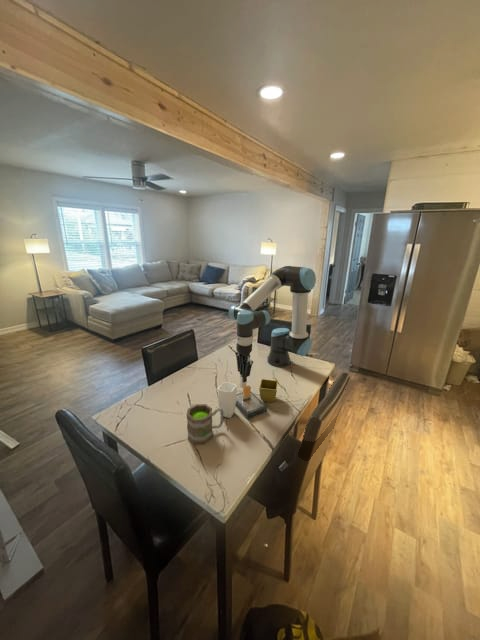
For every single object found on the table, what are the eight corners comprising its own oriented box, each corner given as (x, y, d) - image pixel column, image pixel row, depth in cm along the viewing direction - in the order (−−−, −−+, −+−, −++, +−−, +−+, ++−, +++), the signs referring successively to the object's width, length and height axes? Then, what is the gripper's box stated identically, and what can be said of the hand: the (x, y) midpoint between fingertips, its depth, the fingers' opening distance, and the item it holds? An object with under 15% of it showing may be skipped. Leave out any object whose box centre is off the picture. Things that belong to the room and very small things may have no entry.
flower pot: (275, 405, 131) (276, 390, 128) (258, 403, 132) (259, 387, 130) (276, 395, 139) (278, 380, 136) (260, 393, 141) (261, 378, 138)
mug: (190, 448, 103) (189, 423, 100) (184, 430, 113) (183, 407, 109) (227, 437, 110) (227, 413, 106) (219, 421, 119) (219, 398, 115)
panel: (249, 394, 139) (249, 389, 138) (267, 411, 126) (267, 406, 125) (231, 401, 133) (231, 395, 132) (247, 419, 120) (248, 413, 119)
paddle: (249, 396, 132) (249, 384, 130) (250, 397, 131) (251, 386, 129) (242, 399, 130) (242, 387, 128) (243, 400, 129) (243, 388, 127)
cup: (216, 416, 122) (216, 388, 117) (223, 407, 128) (223, 381, 124) (230, 421, 119) (231, 392, 115) (237, 411, 126) (237, 384, 121)
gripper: (230, 339, 127) (230, 382, 135) (244, 349, 117) (243, 395, 124) (244, 337, 131) (242, 378, 138) (258, 346, 120) (256, 390, 128)
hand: (243, 386), depth 131 cm, fingers closed
